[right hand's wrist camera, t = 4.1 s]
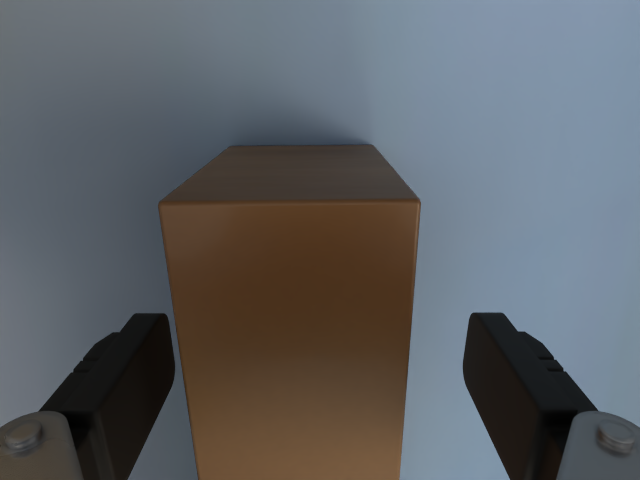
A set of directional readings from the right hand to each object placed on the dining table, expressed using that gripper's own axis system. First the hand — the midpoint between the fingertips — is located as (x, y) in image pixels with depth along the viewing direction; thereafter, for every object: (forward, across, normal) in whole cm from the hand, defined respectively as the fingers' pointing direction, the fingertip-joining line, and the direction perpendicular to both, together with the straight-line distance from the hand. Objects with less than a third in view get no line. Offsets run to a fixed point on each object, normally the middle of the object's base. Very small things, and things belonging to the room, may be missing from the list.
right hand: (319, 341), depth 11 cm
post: (+4, 0, -34) cm, 34 cm away
